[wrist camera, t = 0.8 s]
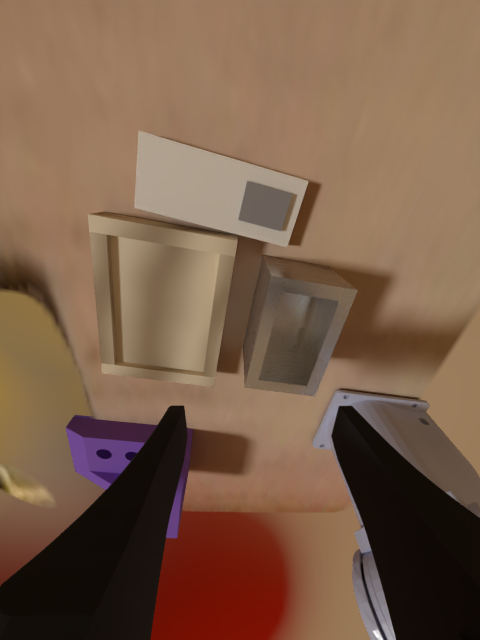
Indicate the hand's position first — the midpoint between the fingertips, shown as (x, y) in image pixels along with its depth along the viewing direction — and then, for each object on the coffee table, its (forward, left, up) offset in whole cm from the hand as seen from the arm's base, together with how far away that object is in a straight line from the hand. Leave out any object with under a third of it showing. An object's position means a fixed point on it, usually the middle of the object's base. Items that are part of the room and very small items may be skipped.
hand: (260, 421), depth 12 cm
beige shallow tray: (+7, -1, -10) cm, 12 cm away
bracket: (+9, +17, -10) cm, 22 cm away
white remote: (+4, -9, -10) cm, 14 cm away
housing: (-2, -2, -10) cm, 10 cm away
